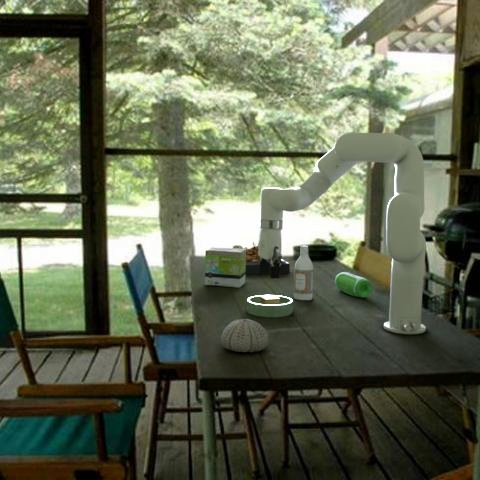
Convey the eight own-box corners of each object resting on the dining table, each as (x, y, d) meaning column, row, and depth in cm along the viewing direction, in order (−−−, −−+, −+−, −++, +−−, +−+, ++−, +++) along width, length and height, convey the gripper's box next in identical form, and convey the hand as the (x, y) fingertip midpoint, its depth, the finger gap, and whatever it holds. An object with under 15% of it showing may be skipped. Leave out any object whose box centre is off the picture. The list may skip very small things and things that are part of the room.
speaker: (333, 290, 248) (333, 271, 247) (348, 289, 251) (349, 270, 250) (356, 299, 232) (356, 279, 231) (372, 298, 234) (373, 278, 233)
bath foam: (290, 299, 230) (291, 246, 228) (298, 296, 236) (299, 244, 234) (307, 301, 227) (309, 247, 224) (315, 298, 233) (316, 245, 230)
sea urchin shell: (219, 341, 177) (219, 314, 176) (266, 341, 178) (267, 313, 177) (221, 356, 164) (221, 326, 163) (272, 355, 165) (272, 326, 163)
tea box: (204, 285, 254) (204, 250, 252) (211, 281, 264) (211, 246, 262) (240, 288, 250) (240, 251, 248) (245, 283, 260) (246, 248, 258)
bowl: (293, 319, 202) (294, 305, 202) (247, 318, 203) (247, 304, 202) (290, 308, 218) (291, 295, 217) (247, 307, 218) (247, 294, 217)
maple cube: (279, 312, 209) (279, 298, 208) (265, 313, 207) (265, 299, 206) (273, 309, 213) (274, 295, 213) (260, 310, 212) (260, 296, 211)
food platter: (218, 258, 323) (219, 239, 321) (264, 257, 328) (265, 238, 327) (236, 274, 279) (237, 252, 278) (289, 273, 284) (289, 250, 283)
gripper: (251, 222, 213) (250, 271, 216) (270, 228, 197) (268, 281, 199) (272, 221, 216) (270, 270, 218) (292, 227, 199) (290, 280, 202)
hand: (269, 275), depth 209 cm, fingers open, 9 cm apart
